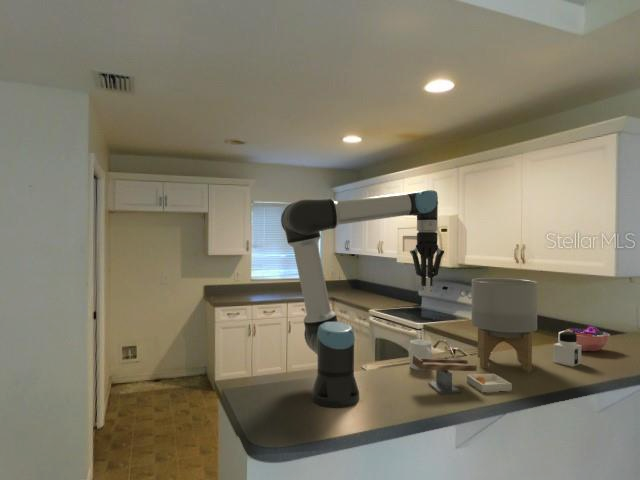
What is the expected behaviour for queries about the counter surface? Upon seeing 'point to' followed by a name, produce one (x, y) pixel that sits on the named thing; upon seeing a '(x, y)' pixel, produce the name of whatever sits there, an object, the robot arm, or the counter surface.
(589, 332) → the cell model
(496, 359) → the counter surface
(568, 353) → the container
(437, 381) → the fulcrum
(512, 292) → the planter
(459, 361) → the plank
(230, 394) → the counter surface
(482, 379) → the ball
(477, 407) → the counter surface
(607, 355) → the counter surface
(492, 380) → the dish
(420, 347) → the mug
